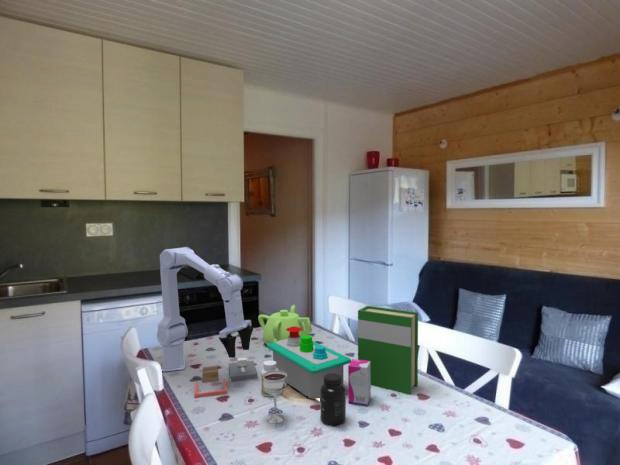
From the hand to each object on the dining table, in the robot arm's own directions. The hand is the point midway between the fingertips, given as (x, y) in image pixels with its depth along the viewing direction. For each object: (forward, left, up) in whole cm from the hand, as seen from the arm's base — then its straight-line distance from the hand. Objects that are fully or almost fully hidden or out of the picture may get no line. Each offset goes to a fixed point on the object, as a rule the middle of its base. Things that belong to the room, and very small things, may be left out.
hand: (239, 353), depth 128 cm
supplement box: (+22, +34, -10) cm, 41 cm away
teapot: (-35, +23, -10) cm, 43 cm away
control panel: (+5, +22, -10) cm, 25 cm away
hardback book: (+14, +47, -10) cm, 50 cm away
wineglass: (+25, +8, -10) cm, 28 cm away
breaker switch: (-10, +2, -8) cm, 13 cm away
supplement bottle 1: (+10, +9, -10) cm, 16 cm away
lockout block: (-6, -9, -10) cm, 15 cm away
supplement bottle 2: (+30, +23, -10) cm, 39 cm away
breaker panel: (-8, +2, -10) cm, 13 cm away
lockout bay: (+2, -9, -10) cm, 14 cm away
